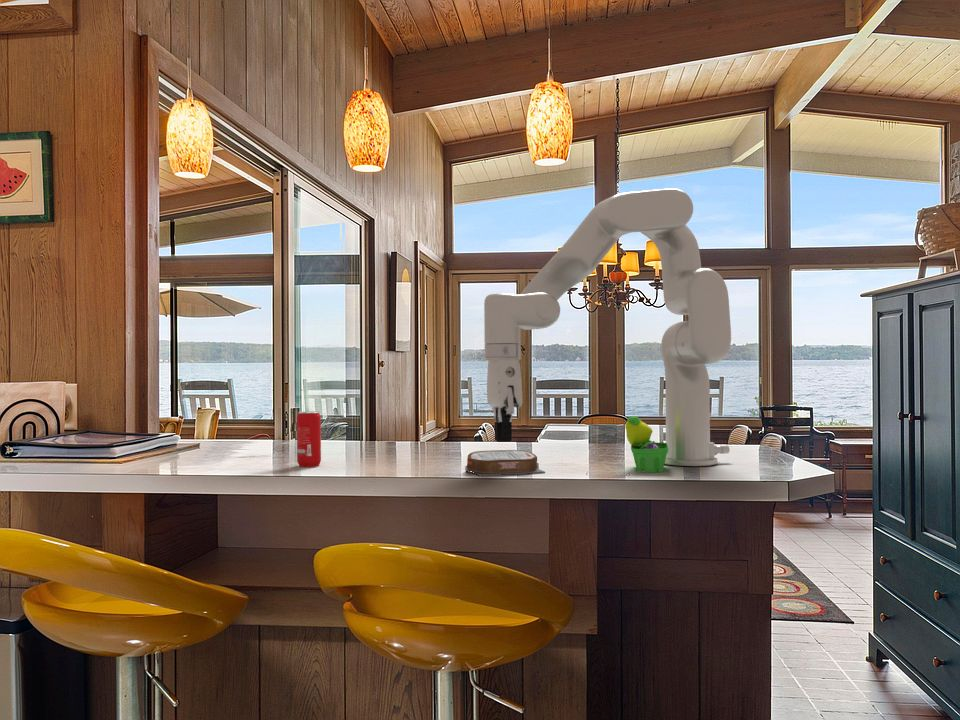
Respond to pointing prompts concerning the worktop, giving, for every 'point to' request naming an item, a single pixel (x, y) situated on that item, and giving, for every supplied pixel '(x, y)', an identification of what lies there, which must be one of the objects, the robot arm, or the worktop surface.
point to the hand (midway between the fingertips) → (503, 441)
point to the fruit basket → (645, 446)
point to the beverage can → (308, 439)
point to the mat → (509, 473)
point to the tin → (501, 461)
